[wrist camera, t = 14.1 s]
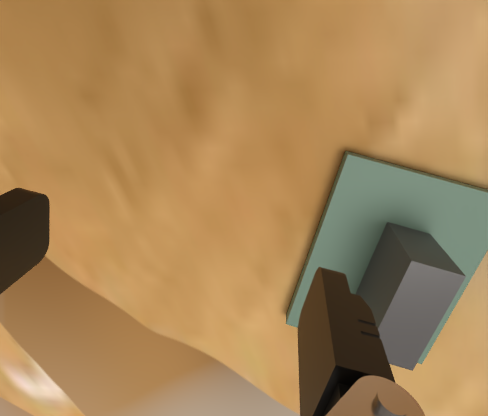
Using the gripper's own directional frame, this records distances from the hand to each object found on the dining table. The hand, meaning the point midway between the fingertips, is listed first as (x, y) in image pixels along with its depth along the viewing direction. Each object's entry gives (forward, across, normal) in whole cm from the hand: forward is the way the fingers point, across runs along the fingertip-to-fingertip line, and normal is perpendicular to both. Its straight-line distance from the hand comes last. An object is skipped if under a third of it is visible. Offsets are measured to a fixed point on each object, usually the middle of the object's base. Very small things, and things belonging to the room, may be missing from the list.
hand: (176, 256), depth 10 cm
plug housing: (+20, -15, +11) cm, 28 cm away
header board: (+22, -15, +9) cm, 28 cm away
